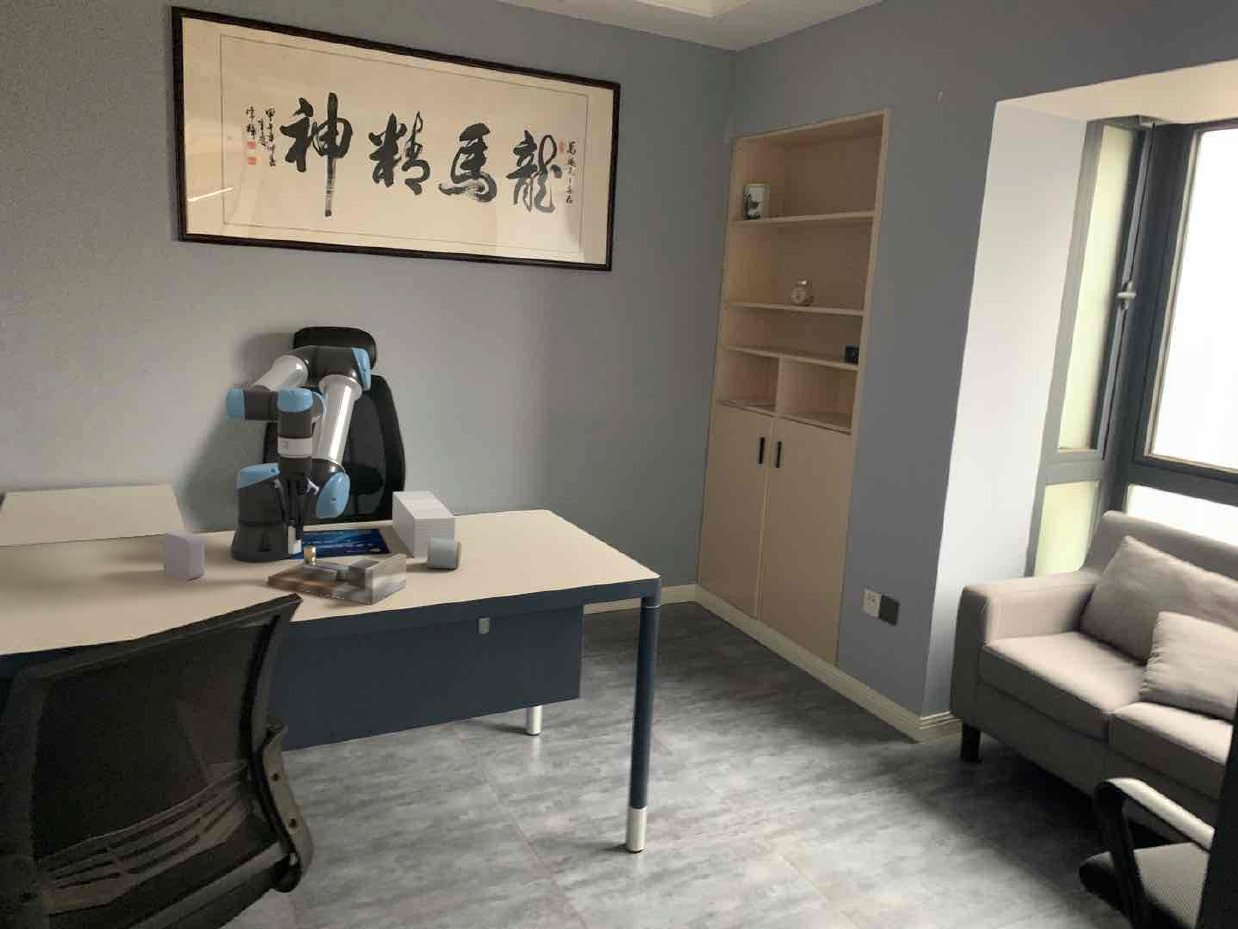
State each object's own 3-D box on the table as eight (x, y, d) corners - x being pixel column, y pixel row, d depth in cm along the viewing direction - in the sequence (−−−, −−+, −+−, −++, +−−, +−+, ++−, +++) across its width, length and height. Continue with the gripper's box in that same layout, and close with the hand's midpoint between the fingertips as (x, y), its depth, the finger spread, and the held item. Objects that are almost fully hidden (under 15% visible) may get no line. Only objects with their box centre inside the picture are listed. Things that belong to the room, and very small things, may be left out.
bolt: (301, 572, 216) (301, 547, 215) (308, 569, 218) (308, 545, 217) (345, 580, 213) (345, 555, 211) (351, 577, 215) (352, 552, 214)
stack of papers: (392, 527, 269) (392, 491, 267) (428, 525, 274) (429, 490, 272) (414, 558, 241) (415, 519, 239) (454, 556, 245) (455, 517, 243)
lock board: (268, 585, 213) (267, 552, 211) (305, 569, 226) (306, 537, 224) (372, 604, 204) (373, 570, 203) (405, 587, 218) (406, 554, 216)
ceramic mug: (459, 572, 231) (460, 543, 230) (426, 571, 230) (427, 541, 229) (461, 560, 242) (462, 532, 240) (430, 559, 241) (431, 531, 239)
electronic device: (207, 577, 215) (206, 536, 214) (189, 581, 211) (188, 540, 210) (181, 568, 220) (180, 528, 218) (163, 572, 216) (162, 532, 214)
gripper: (260, 453, 211) (261, 552, 215) (308, 460, 207) (307, 560, 211) (282, 449, 218) (282, 544, 222) (328, 455, 214) (327, 552, 218)
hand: (294, 552), depth 217 cm, fingers closed
